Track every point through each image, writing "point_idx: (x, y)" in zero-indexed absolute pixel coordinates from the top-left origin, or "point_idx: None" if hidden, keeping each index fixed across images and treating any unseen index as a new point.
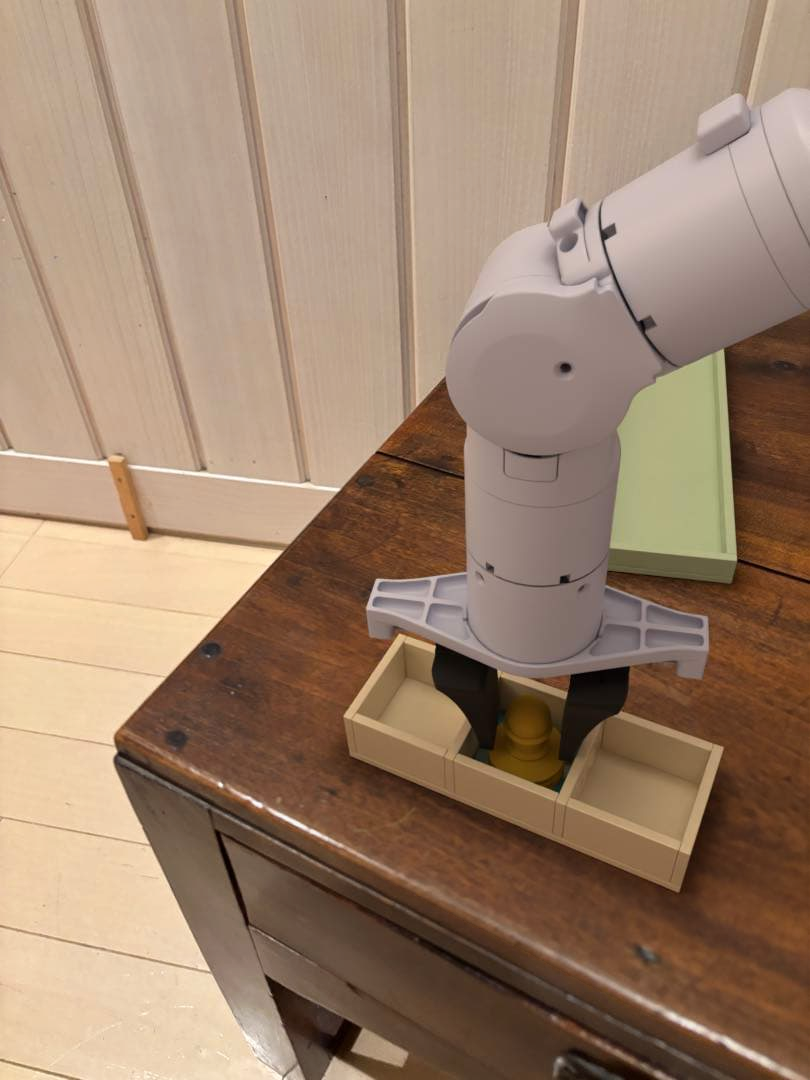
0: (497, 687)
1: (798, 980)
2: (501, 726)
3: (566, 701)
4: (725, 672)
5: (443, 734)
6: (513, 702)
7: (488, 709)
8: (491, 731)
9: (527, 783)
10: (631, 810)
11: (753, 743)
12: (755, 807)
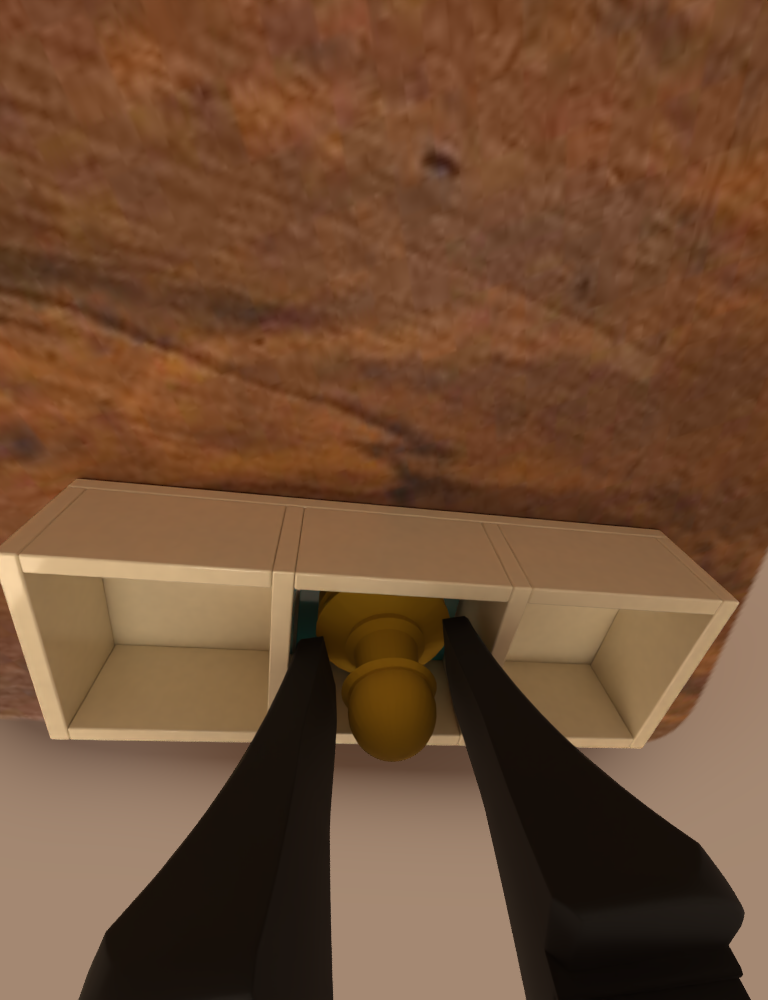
0: (313, 710)
1: (699, 693)
2: (328, 612)
3: (463, 683)
4: (752, 259)
5: (229, 589)
6: (360, 739)
7: (326, 828)
8: (333, 749)
9: None
10: (542, 610)
11: (750, 429)
12: (715, 538)
